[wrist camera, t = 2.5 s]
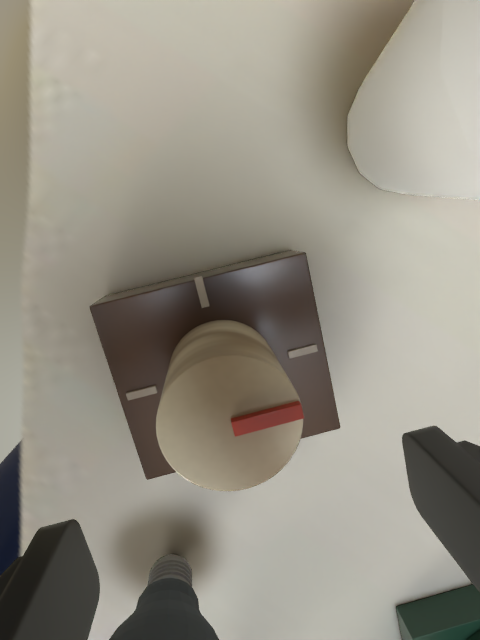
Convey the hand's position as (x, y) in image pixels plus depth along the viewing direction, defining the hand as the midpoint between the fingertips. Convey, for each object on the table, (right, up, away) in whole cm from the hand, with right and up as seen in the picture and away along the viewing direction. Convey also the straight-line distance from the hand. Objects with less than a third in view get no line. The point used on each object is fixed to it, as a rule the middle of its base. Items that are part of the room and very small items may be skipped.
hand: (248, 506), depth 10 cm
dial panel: (-1, +3, +12) cm, 13 cm away
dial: (-1, +2, +9) cm, 10 cm away
